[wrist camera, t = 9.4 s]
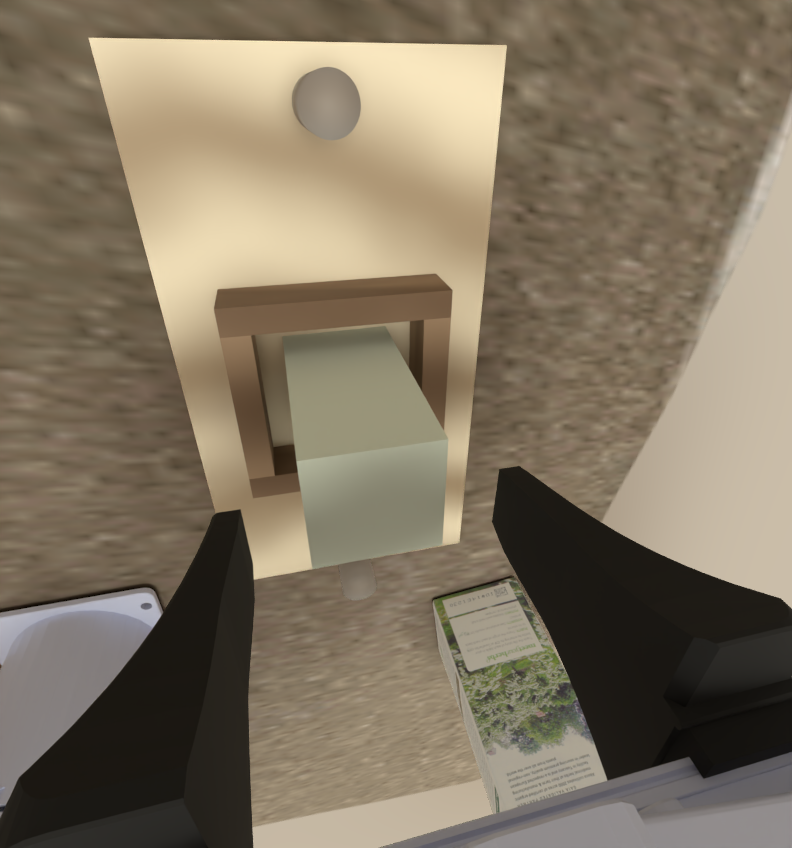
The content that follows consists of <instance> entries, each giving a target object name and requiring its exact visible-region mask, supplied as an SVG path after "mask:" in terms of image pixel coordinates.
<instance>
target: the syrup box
mask: <svg viewBox="0 0 792 848" xmlns="http://www.w3.org/2000/svg"><path fill="white" fill-rule="evenodd" d="M433 609H434V616H435V624H436V631H437V639H438V647H439V652H440V655H441V658H442V661H443V664H444V667H445V669H446V672H447V675H448V678H449V680H450V683H451V686H452V689H453V692H454V694H455V698H456V701H457V704H458V706H459V709H460V712H461V715H462V718H463V721H464V724H465V728H466V731H467V734H468V737H469V740H470V743H471V746H472V749H473V753H474V756H475V759H476V762H477V765H478V768H479V771H480V774H481V778H482V780H483V783H484V787H485V790H486V793H487V796H488V799H489V802H490V806H491V809H492V812H493V814H496V813H499V812H502V811H506V810H509V809H513V808H516V807H519V806H523V805H526V804H530V803H533V802H537V801H540V800H543V799H547V798H550V797H554V796H557V795H560V794H564V793H567V792H571V791H574V790H577V789H581V788H584V787H588V786H591V785H594V784H598V783H601V782H605V781H607V778H606V775H605V772H604V769H603V766H602V764H601V761H600V758H599V755H598V752H597V749H596V747H595V744H594V741H593V738H592V735H591V733H590V730H589V728H588V725H587V722H586V720H585V717H584V715H583V712H582V709H581V707H580V704H579V702H578V699H577V696H576V694H575V692H574V689H573V687H572V684H571V682H570V680H569V677H568V675H567V673H566V671H565V669H564V667H563V665H562V663H561V661H560V660H559V658H558V656H557V654H556V652H555V650H554V649H553V647H552V645H551V643H550V641H549V639H548V637H547V636H546V634H545V632H544V630H543V628H542V626H541V625H540V623H539V621H538V619H537V617H536V615H535V614H534V612H533V610H532V608H531V606H530V604H529V602H528V601H527V599H526V597H525V595H524V593H523V591H522V589H521V587H520V586H519V584H518V582H517V580H516V579H515V578H514V577H513V578H509V579H505V580H502V581H498V582H495V583H491V584H488V585H484V586H481V587H477V588H474V589H470V590H466V591H463V592H459V593H456V594H452V595H449V596H445V597H441V598H438V599H435V600H433Z"/></svg>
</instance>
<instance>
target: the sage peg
mask: <svg viewBox="0 0 792 848" xmlns="http://www.w3.org/2000/svg"><path fill="white" fill-rule="evenodd" d="M282 337H283V346H284V355H285V364H286V373H287V382H288V391H289V400H290V409H291V418H292V427H293V436H294V445H295V454H296V462H297V469H298V476H299V483H300V489H301V496H302V503H303V509H304V516H305V523H306V529H307V536H308V543H309V550H310V556H311V563H312V569H316V568H322V567H327V566H332V565H338V564H343V563H349V562H354V561H359V560H365V559H370V558H376V557H381V556H386V555H392V554H397V553H403V552H408V551H413V550H419V549H424V548H430V547H435V546H440V545H442V543H443V525H444V508H445V491H446V474H447V457H448V437H447V436H446V434H445V432H444V430H443V429H442V427H441V425H440V423H439V421H438V420H437V418H436V416H435V414H434V412H433V411H432V409H431V407H430V405H429V403H428V402H427V400H426V398H425V396H424V395H423V393H422V391H421V389H420V387H419V386H418V384H417V382H416V380H415V378H414V377H413V375H412V373H411V371H410V370H409V368H408V366H407V364H406V362H405V361H404V359H403V357H402V355H401V353H400V352H399V350H398V348H397V346H396V344H395V343H394V341H393V339H392V337H391V336H390V334H389V332H388V330H387V328H386V327H385V326H381V327H371V328H361V329H351V330H341V331H331V332H321V333H311V334H301V335H291V336H282Z"/></svg>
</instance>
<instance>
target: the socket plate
mask: <svg viewBox="0 0 792 848" xmlns="http://www.w3.org/2000/svg"><path fill="white" fill-rule="evenodd" d="M89 41H90V45H91V49H92V52H93V56H94V60H95V64H96V67H97V71H98V75H99V78H100V82H101V86H102V90H103V93H104V97H105V101H106V105H107V108H108V112H109V116H110V120H111V123H112V127H113V131H114V135H115V138H116V142H117V146H118V150H119V153H120V157H121V161H122V165H123V168H124V172H125V176H126V180H127V183H128V187H129V191H130V194H131V198H132V202H133V206H134V209H135V213H136V217H137V221H138V224H139V228H140V232H141V236H142V239H143V243H144V247H145V251H146V254H147V258H148V262H149V266H150V269H151V273H152V277H153V281H154V284H155V288H156V292H157V296H158V299H159V303H160V307H161V310H162V314H163V318H164V322H165V325H166V329H167V333H168V337H169V340H170V344H171V348H172V352H173V355H174V359H175V363H176V367H177V370H178V374H179V378H180V382H181V385H182V389H183V393H184V397H185V400H186V404H187V408H188V412H189V415H190V419H191V423H192V426H193V430H194V434H195V438H196V441H197V445H198V449H199V453H200V456H201V460H202V464H203V468H204V471H205V475H206V479H207V483H208V486H209V490H210V494H211V498H212V501H213V505H214V509H215V513H219V512H225V511H232V510H238V509H241V513H242V518H243V522H244V526H245V531H246V535H247V539H248V544H249V548H250V553H251V557H252V561H253V574H254V579H260V578H265V577H271V576H276V575H282V574H288V573H293V572H299V571H304V570H310V569H312V563H311V556H310V550H309V543H308V536H307V529H306V523H305V516H304V509H303V503H302V496H301V489H300V483H299V476H298V469H297V462H296V454H295V445H294V436H293V427H292V418H291V409H290V400H289V391H288V382H287V373H286V364H285V355H284V346H283V337H282V336H291V335H301V334H311V333H321V332H331V331H341V330H351V329H361V328H371V327H381V326H385V327H386V328H387V330H388V332H389V334H390V336H391V337H392V339H393V341H394V343H395V344H396V346H397V348H398V350H399V352H400V353H401V355H402V357H403V359H404V361H405V362H406V364H407V366H408V368H409V370H410V371H411V373H412V375H413V377H414V378H415V380H416V382H417V384H418V386H419V387H420V389H421V391H422V393H423V395H424V396H425V398H426V400H427V402H428V403H429V405H430V407H431V409H432V411H433V412H434V414H435V416H436V418H437V420H438V421H439V423H440V425H441V427H442V429H443V430H444V432H445V434H446V436H447V437H448V457H447V474H446V491H445V508H444V525H443V543H442V545H440V546H444V545H449V544H455V543H459V540H460V529H461V519H462V508H463V498H464V487H465V477H466V466H467V456H468V445H469V435H470V425H471V414H472V404H473V393H474V383H475V372H476V362H477V351H478V341H479V330H480V320H481V309H482V299H483V288H484V278H485V268H486V257H487V247H488V236H489V226H490V215H491V205H492V194H493V184H494V173H495V163H496V152H497V142H498V131H499V121H500V111H501V100H502V90H503V79H504V69H505V58H506V48H507V45H464V44H408V43H352V42H296V41H240V40H184V39H128V38H89ZM435 547H438V546H435ZM430 548H433V547H430ZM424 549H427V548H424ZM419 550H421V549H419ZM413 551H416V550H413ZM408 552H410V551H408ZM403 553H405V552H403ZM397 554H399V553H397ZM392 555H394V554H392ZM386 556H388V555H386ZM381 557H382V556H381ZM376 558H377V557H376ZM338 567H339V573H340V578H341V584H342V590H343V594H344V596H345V597H346V598H348V599H350V600H362V599H365V598H368V597H369V596H371V595H372V594H373V593H374V592H375V591H376V588H377V583H376V579H375V575H374V571H373V567H372V563H371V558H370V559H365V560H359V561H354V562H349V563H343V564H338Z"/></svg>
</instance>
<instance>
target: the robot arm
mask: <svg viewBox="0 0 792 848" xmlns="http://www.w3.org/2000/svg"><path fill="white" fill-rule="evenodd" d="M492 523H493V525H494V528H495V530H496V533H497V535H498V538H499V541H500V543H501V545H502V548H503V550H504V552H505V554H506V556H507V558H508V560H509V562H510V563H511V565H512V567H513V569H514V570H515V572H516V574H517V576H518V578H519V579H520V581H521V583H522V585H523V586H524V588H525V590H526V592H527V593H528V595H529V597H530V599H531V600H532V602H533V604H534V606H535V607H536V609H537V611H538V613H539V614H540V616H541V618H542V620H543V622H544V624H545V626H546V628H547V629H548V631H549V633H550V636H551V638H552V640H553V642H554V645H555V647H556V649H557V651H558V654H559V656H560V658H561V661H562V663H563V665H564V667H565V670H566V672H567V675H568V677H569V680H570V682H571V684H572V687H573V689H574V692H575V694H576V696H577V699H578V702H579V704H580V707H581V709H582V712H583V715H584V717H585V720H586V722H587V725H588V728H589V730H590V733H591V735H592V738H593V741H594V744H595V747H596V749H597V752H598V755H599V758H600V761H601V764H602V766H603V769H604V772H605V775H606V778H607V781H605V782H601V783H598V784H594V785H591V786H588V787H584V788H581V789H577V790H574V791H571V792H567V793H564V794H560V795H557V796H554V797H550V798H547V799H543V800H540V801H537V802H533V803H530V804H526V805H523V806H519V807H516V808H513V809H509V810H506V811H502V812H499V813H496V814H492V815H489V816H485V817H482V818H479V819H475V820H472V821H469V822H465V823H462V824H458V825H455V826H451V827H448V828H445V829H441V830H438V831H434V832H431V833H428V834H424V835H421V836H417V837H414V838H411V839H407V840H404V841H401V842H397V843H393V844H390V845H387V846H383V847H380V848H792V609H791V608H790V607H789V606H788V605H787V604H786V603H785V602H784V601H783V600H782V599H780V598H777V597H774V596H770V595H767V594H764V593H761V592H757V591H754V590H751V589H747V588H744V587H741V586H738V585H735V584H732V583H729V582H726V581H724V580H721V579H718V578H715V577H713V576H710V575H707V574H705V573H702V572H700V571H697V570H695V569H692V568H690V567H687V566H685V565H682V564H680V563H678V562H676V561H674V560H671V559H669V558H667V557H665V556H662V555H660V554H658V553H656V552H654V551H652V550H650V549H648V548H646V547H644V546H642V545H640V544H638V543H636V542H634V541H632V540H630V539H629V538H627V537H625V536H623V535H621V534H620V533H618V532H616V531H614V530H613V529H611V528H609V527H608V526H606V525H604V524H603V523H601V522H600V521H598V520H596V519H595V518H593V517H592V516H590V515H588V514H587V513H585V512H584V511H582V510H581V509H579V508H578V507H576V506H575V505H573V504H572V503H571V502H569V501H568V500H566V499H565V498H563V497H562V496H560V495H559V494H558V493H556V492H555V491H553V490H552V489H551V488H549V487H548V486H547V485H545V484H544V483H542V482H541V481H540V480H538V479H537V478H535V477H534V476H533V475H531V474H530V473H528V472H527V471H526V470H524V469H523V468H521V467H520V466H517V467H511V468H504V469H499V476H498V483H497V491H496V498H495V505H494V512H493V519H492ZM254 601H255V598H254V574H253V561H252V557H251V553H250V548H249V544H248V539H247V535H246V531H245V526H244V522H243V518H242V513H241V509H238V510H232V511H225V512H219V513H216V514H215V515H214V516H213V517H212V520H211V522H210V525H209V527H208V530H207V532H206V535H205V537H204V539H203V541H202V543H201V545H200V548H199V550H198V552H197V554H196V556H195V558H194V560H193V562H192V563H191V565H190V567H189V569H188V571H187V573H186V575H185V577H184V579H183V580H182V582H181V584H180V586H179V587H178V589H177V591H176V592H175V594H174V596H173V597H172V599H171V601H170V602H169V604H168V606H167V607H166V609H165V611H164V612H163V610H162V608H161V605H160V603H159V600H158V598H157V595H156V593H155V591H154V590H152V589H150V588H138V589H133V590H127V591H121V592H115V593H110V594H104V595H98V596H93V597H87V598H81V599H75V600H70V601H64V602H58V603H53V604H47V605H41V606H36V607H30V608H24V609H18V610H13V611H7V612H1V613H0V664H1V665H2V667H1V670H0V848H253V835H252V811H251V786H250V756H249V718H248V688H249V671H250V657H251V644H252V630H253V616H254Z"/></svg>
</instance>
